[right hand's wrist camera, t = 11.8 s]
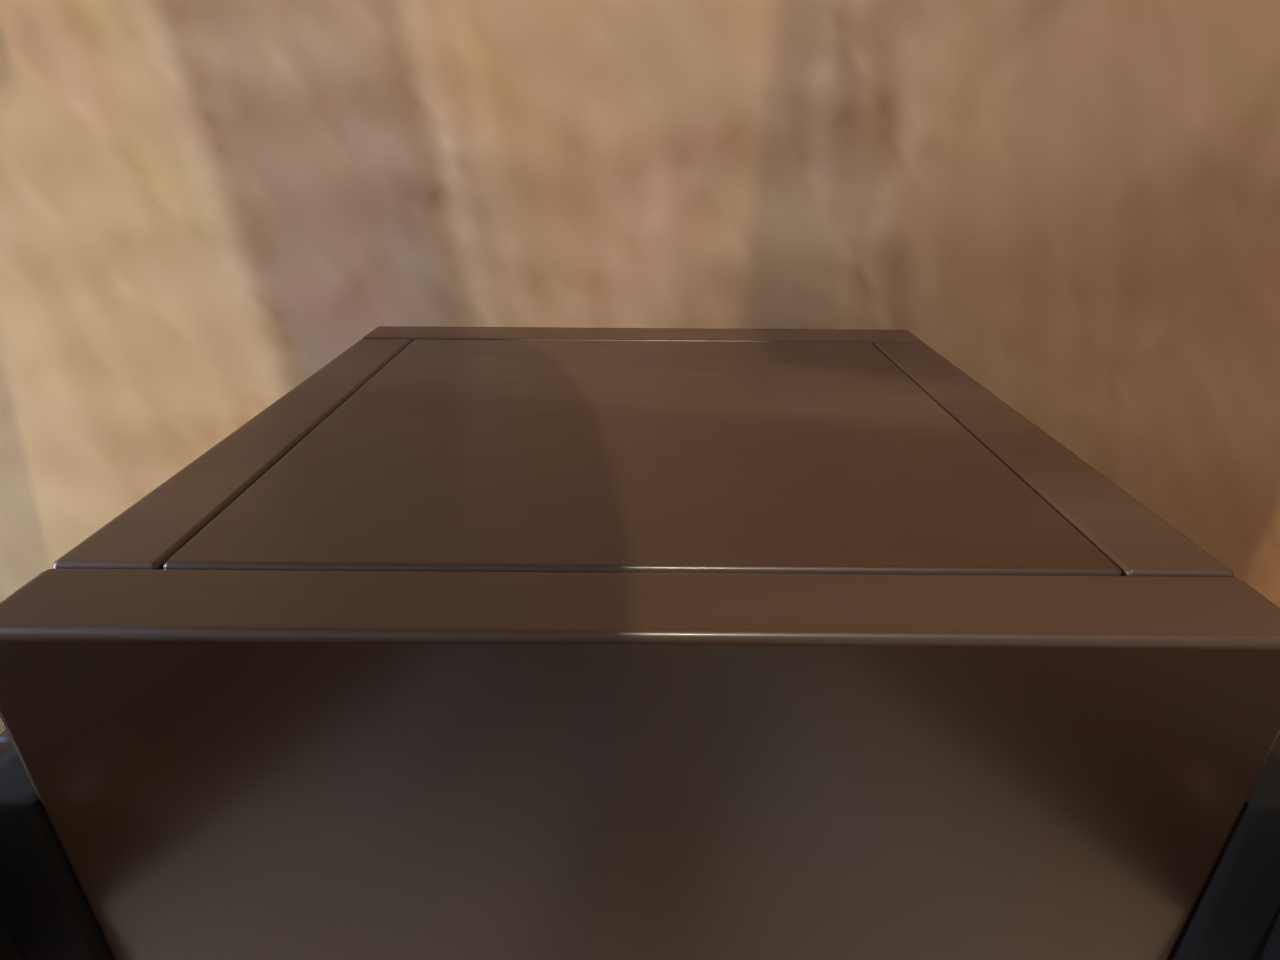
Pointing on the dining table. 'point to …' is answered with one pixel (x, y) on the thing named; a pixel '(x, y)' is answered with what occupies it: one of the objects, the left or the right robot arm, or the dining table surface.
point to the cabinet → (640, 669)
